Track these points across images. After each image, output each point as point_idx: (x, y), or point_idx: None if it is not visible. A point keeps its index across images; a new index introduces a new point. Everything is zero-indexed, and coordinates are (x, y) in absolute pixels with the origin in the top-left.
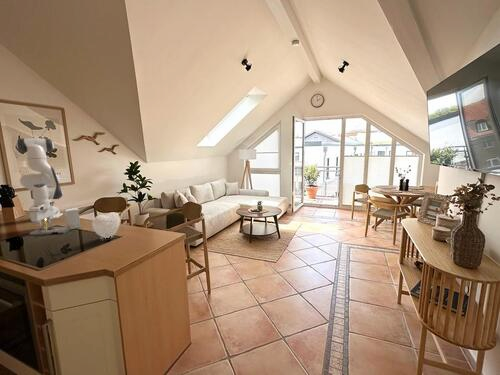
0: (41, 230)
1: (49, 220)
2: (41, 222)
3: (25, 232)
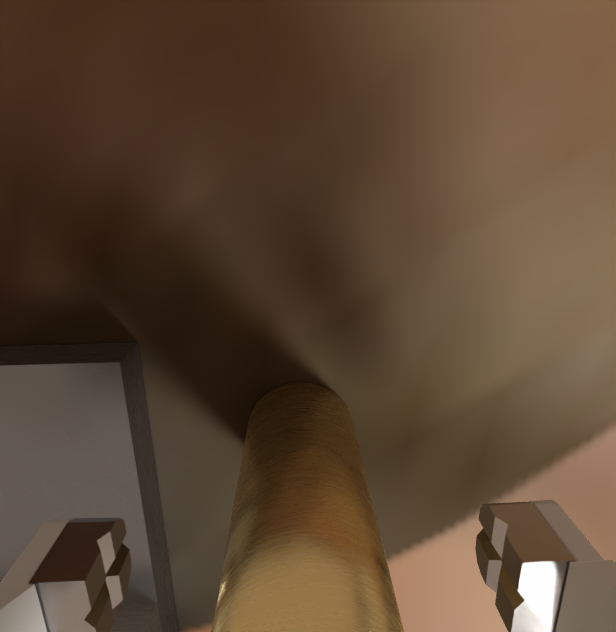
0: (78, 516)
1: (548, 628)
2: (227, 580)
3: (90, 75)
